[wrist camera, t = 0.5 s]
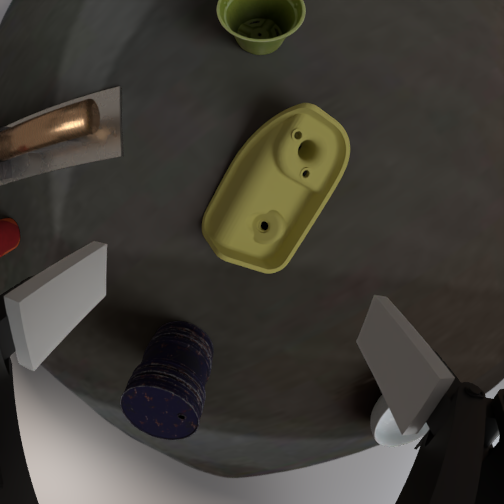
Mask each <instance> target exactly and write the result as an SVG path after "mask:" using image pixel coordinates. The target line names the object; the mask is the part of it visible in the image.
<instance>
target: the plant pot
mask: <svg viewBox="0 0 504 504" xmlns="http://www.w3.org/2000/svg"><path fill="white" fill-rule="evenodd" d="M305 13H306V9H305V4H304V2H303V0H218V3H217V16H218V19H219V21H220V23H221V25H222V26H223V27H224V28H225V29H226V30H227V31H228V32H229V33H230V34H232V35H234V37H235V39H236V41H237V42H238V44H239V45H240V47H241V48H242V49H243V50H245V51H247V52H249V53H252V54H255V55H265V54H269V53H272V52H274V51H275V50H277V49H278V48H279V47H280V45H281V44H282V42H283V41H284V39H285V38H286V37H287V36H289V35H291V34H292V33H294V32H295V31H296V30H297V29H298V28H299V27H300V26H301V24H302V22H303V20H304V18H305ZM254 21H260V23H254V24H250V23H252V22H254ZM275 29H277V30H278V32H279V36H277V35H276V31H275ZM259 33H261V34H262V35H261V36H258V34H259Z"/></svg>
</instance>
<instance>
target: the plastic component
mask: <svg viewBox="0 0 504 504" xmlns="http://www.w3.org/2000/svg"><path fill="white" fill-rule="evenodd" d="M301 143H302V147H301V148H300V150H299V151H298V148H299V146H300V144H301ZM349 156H350V143H349V138H348V135H347V133H346V131H345V129H344V128H343V127H342V125H341V124H340V123H339V122H338V121H336V120H335V119H334V118H332V117H331V116H330V115H328V114H327V113H326V112H324V111H323V110H321V109H320V108H319V107H317V106H316V105H313V104H309V103H302V104H298V105H295V106H293V107H290V108H288V109H286V110H284V111H282V112H280V113H279V114H277V115H276V116H274V117H273V118H271V119H270V120H269V121H267V122H266V123H265V124H264V125H262V126H261V127H260V128H259V129H258V130H257V131H256V132H255V133H254V134H253V135H252V136H251V137H250V138H249V139H248V140H247V141H246V143H245V144H244V145H243V146H242V148H241V149H240V150H239V152H238V153H237V155H236V156H235V158H234V159H233V161H232V162H231V164H230V166H229V168H228V170H227V172H226V173H225V175H224V177H223V179H222V181H221V183H220V184H219V186H218V188H217V190H216V192H215V194H214V196H213V198H212V200H211V201H210V203H209V205H208V207H207V209H206V211H205V213H204V216H203V220H202V233H203V236H204V238H205V239H206V241H207V242H208V244H209V245H210V247H211V248H212V250H213V251H214V253H215V254H216V255H217V256H218V257H219V258H221V259H222V260H224V261H227V262H230V263H233V264H237V265H240V266H243V267H246V268H250V269H253V270H256V271H259V272H263V273H275V272H277V271H279V270H281V269H283V268H284V267H285V266H286V265H287V264H288V263H289V261H290V260H291V258H292V257H293V255H294V253H295V252H296V250H297V249H298V247H299V246H300V244H301V243H302V241H303V239H304V238H305V236H306V235H307V233H308V232H309V230H310V228H311V227H312V225H313V224H314V222H315V220H316V219H317V217H318V216H319V214H320V212H321V211H322V209H323V208H324V206H325V204H326V203H327V201H328V200H329V198H330V196H331V195H332V193H333V191H334V190H335V188H336V186H337V185H338V183H339V181H340V179H341V177H342V175H343V173H344V171H345V169H346V167H347V164H348V161H349ZM305 170H307V173H306V175H305V176H302V175H303V172H304V171H305ZM263 221H265V222H267V223H268V225H269V226H268V229H267V230H263V229H262V228H261V223H262V222H263Z"/></svg>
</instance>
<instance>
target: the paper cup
mask: <svg viewBox="0 0 504 504" xmlns="http://www.w3.org/2000/svg"><path fill="white" fill-rule="evenodd" d="M19 242H20V231H19V227H18V225H17V223H16V222H15V221H14V220H13V219H12V218H5V219H0V257H1V256H3V255H5V254H6V253H8V252H10V251H11V250H13V249H15V248H16V247H17V246H18V244H19Z"/></svg>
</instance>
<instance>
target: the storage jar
mask: <svg viewBox="0 0 504 504" xmlns="http://www.w3.org/2000/svg"><path fill="white" fill-rule="evenodd" d="M212 358H213V345H212V342H211V340H210V338H209V337H208V335H207V334H206V333H205V332H204V331H203V330H202V329H200V328H199V327H197V326H195V325H193V324H191V323H188V322H183V321H173V322H169V323H166V324H164V325H162V326H161V327H160V328H159V329H158V330H157V332H156V333H155V335H154V337H153V338H152V339H151V341H150V342H149V344H148V346H147V348H146V350H145V352H144V356H143V360H142V362H141V364H140V365H139V366H138V367H137V368H136V369H135V370H134V372H133V374H132V376H131V378H130V379H129V381H128V384H127V387H126V389H125V391H124V393H123V395H122V397H121V401H120V405H121V409H122V412H123V413H124V415H125V417H126V418H127V419H128V420H129V422H130V423H131V424H133V425H134V426H135V427H136V428H138V429H139V430H141V431H142V432H144V433H146V434H148V435H151V436H153V437H157V438H160V439H166V440H180V439H185V438H188V437H190V436H191V435H193V434H194V433H195V432H196V431H197V429H198V426H199V422H200V417H201V414H202V411H203V406H204V401H205V384H206V382H207V381H208V378H209V376H210V373H211V367H212Z"/></svg>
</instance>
